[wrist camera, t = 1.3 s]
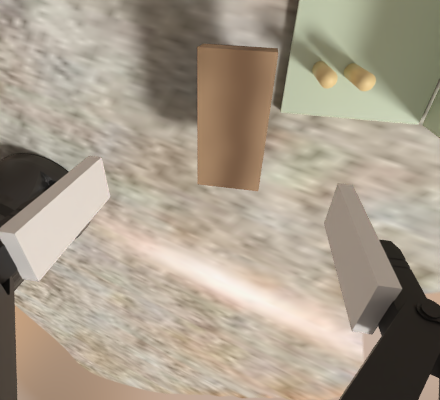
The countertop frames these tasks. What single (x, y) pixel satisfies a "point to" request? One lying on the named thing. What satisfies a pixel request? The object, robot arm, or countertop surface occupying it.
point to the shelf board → (233, 113)
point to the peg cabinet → (365, 61)
